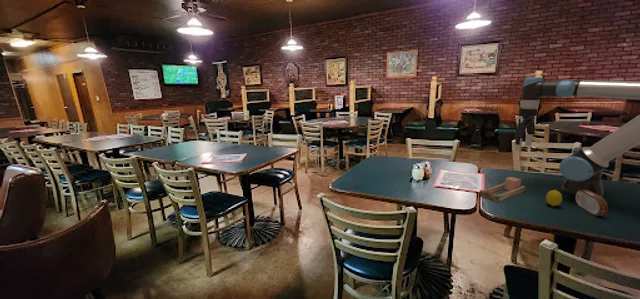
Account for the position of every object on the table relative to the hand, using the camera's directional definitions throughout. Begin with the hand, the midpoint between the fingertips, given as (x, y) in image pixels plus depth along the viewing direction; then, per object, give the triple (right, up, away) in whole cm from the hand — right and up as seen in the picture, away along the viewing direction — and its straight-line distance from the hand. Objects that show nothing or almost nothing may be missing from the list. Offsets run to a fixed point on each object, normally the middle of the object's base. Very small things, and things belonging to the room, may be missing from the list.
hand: (522, 148), depth 142 cm
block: (-6, -22, 0) cm, 23 cm away
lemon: (-1, -27, -19) cm, 33 cm away
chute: (-13, -24, -4) cm, 27 cm away
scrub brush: (+10, -28, -25) cm, 39 cm away
